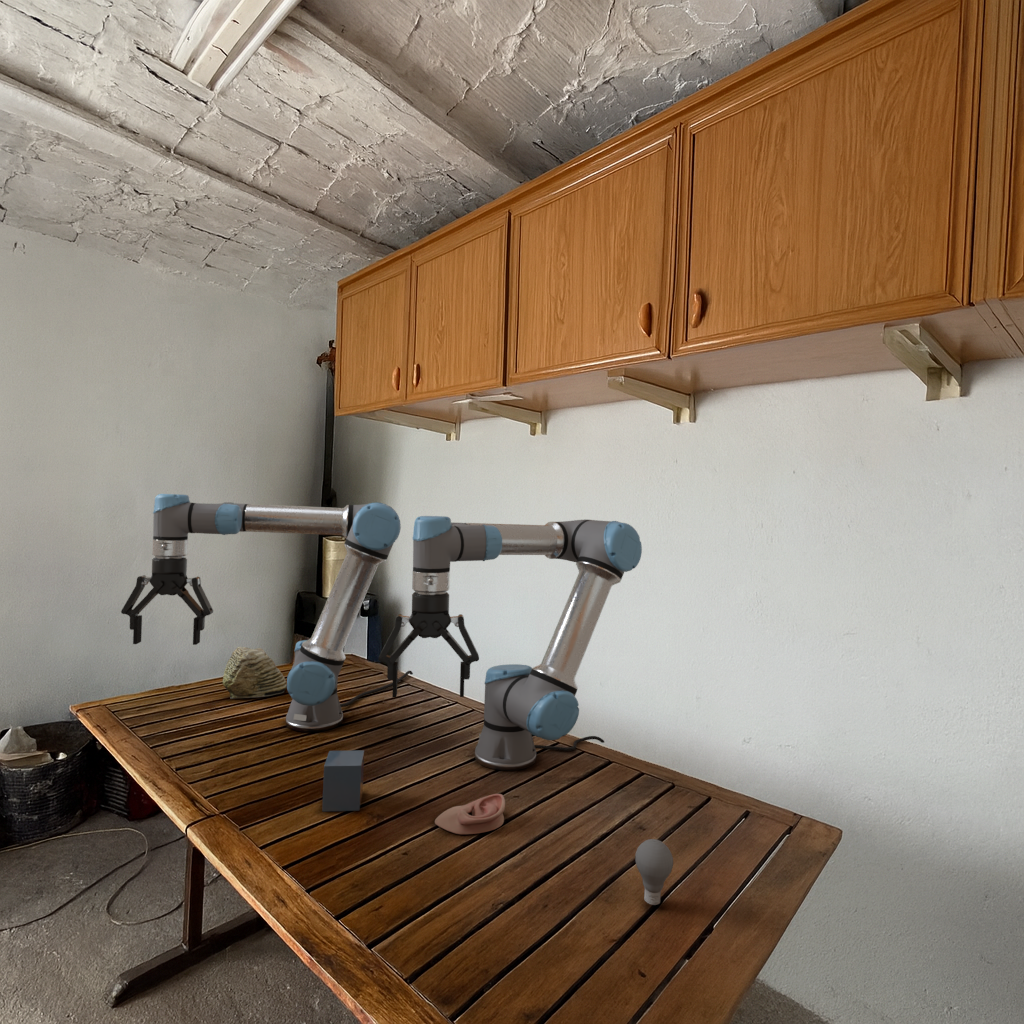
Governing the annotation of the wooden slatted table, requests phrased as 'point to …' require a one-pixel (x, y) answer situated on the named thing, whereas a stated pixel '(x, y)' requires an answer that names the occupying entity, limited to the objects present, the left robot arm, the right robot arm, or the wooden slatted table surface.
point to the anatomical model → (474, 816)
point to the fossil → (252, 674)
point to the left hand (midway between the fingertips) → (166, 643)
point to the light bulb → (653, 868)
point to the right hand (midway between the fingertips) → (428, 695)
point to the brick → (343, 781)
